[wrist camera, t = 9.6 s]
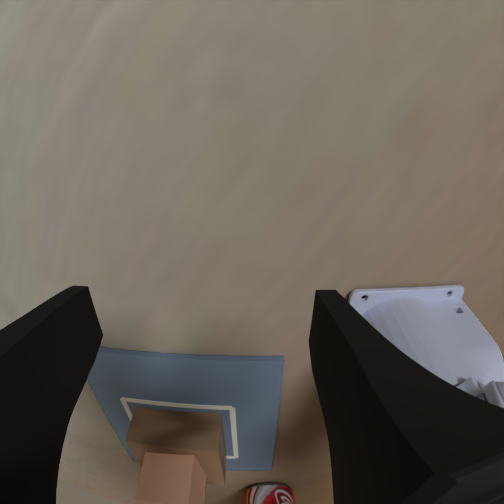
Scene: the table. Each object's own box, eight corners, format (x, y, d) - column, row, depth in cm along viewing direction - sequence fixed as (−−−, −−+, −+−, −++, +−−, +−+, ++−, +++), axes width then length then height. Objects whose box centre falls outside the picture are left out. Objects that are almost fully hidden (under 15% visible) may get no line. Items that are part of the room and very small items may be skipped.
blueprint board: (283, 355, 23) (283, 361, 22) (271, 467, 32) (271, 471, 31) (75, 343, 23) (72, 348, 22) (133, 457, 32) (132, 460, 31)
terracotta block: (194, 455, 22) (188, 505, 18) (206, 474, 24) (202, 519, 20) (145, 452, 23) (135, 499, 18) (162, 472, 25) (154, 514, 20)
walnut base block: (221, 413, 26) (218, 451, 22) (226, 452, 29) (224, 484, 26) (135, 406, 26) (125, 440, 22) (154, 446, 29) (147, 476, 26)
